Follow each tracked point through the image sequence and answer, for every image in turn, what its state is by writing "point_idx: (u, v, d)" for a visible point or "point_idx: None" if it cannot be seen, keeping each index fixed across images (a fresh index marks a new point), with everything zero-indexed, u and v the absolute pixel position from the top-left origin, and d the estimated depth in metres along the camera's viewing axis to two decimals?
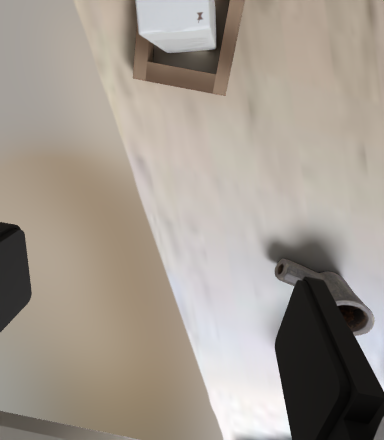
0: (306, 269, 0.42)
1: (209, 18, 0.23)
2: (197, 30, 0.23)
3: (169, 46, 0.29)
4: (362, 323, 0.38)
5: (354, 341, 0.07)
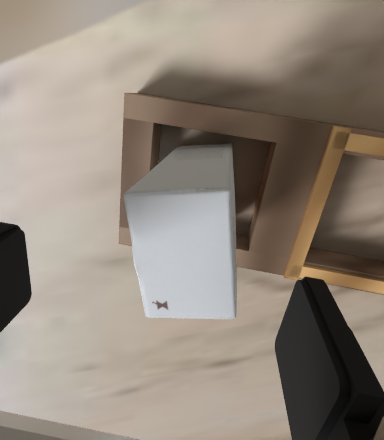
0: None
1: (160, 317, 0.13)
2: None
3: None
4: None
5: (354, 341, 0.07)
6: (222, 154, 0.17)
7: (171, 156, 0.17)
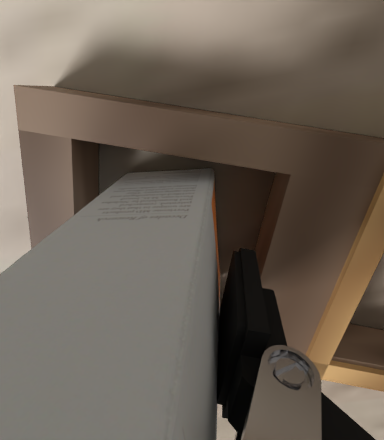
0: None
1: None
2: None
3: None
4: None
5: (262, 295, 0.08)
6: (190, 204, 0.09)
7: (95, 205, 0.09)
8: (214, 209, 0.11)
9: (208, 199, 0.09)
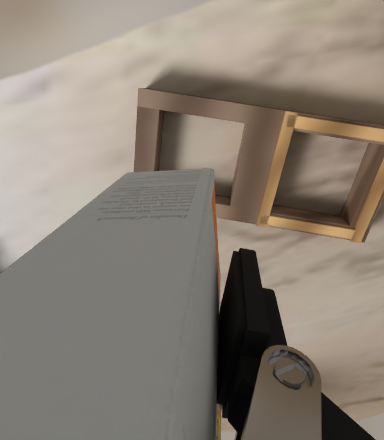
0: None
1: None
2: None
3: None
4: None
5: (262, 295, 0.08)
6: (190, 204, 0.09)
7: (95, 204, 0.09)
8: (214, 209, 0.11)
9: (208, 199, 0.09)
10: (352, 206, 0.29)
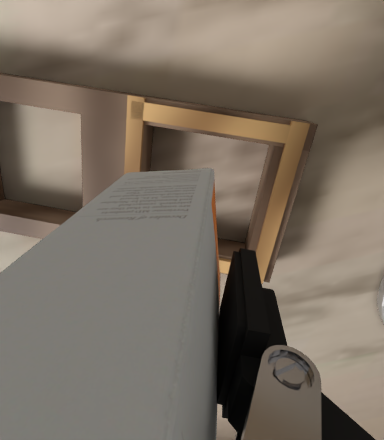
0: None
1: None
2: None
3: None
4: None
5: (262, 295, 0.08)
6: (190, 204, 0.08)
7: (94, 205, 0.09)
8: (214, 209, 0.11)
9: (208, 199, 0.09)
10: (251, 232, 0.20)
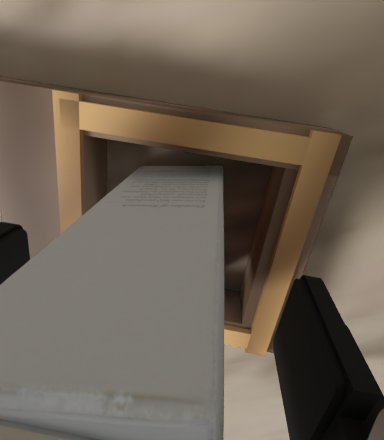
0: None
1: None
2: None
3: None
4: None
5: (351, 339, 0.07)
6: (205, 196, 0.09)
7: (117, 193, 0.10)
8: None
9: (221, 193, 0.10)
10: (248, 284, 0.14)
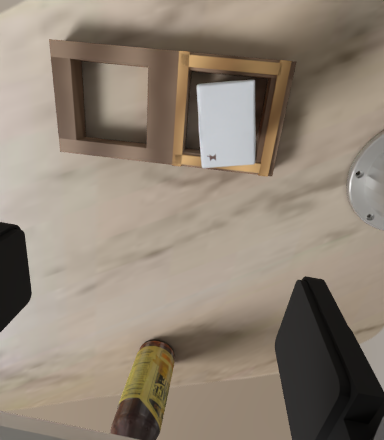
0: None
1: (210, 167, 0.22)
2: (201, 154, 0.22)
3: None
4: None
5: (354, 341, 0.07)
6: None
7: None
8: None
9: None
10: (258, 142, 0.31)
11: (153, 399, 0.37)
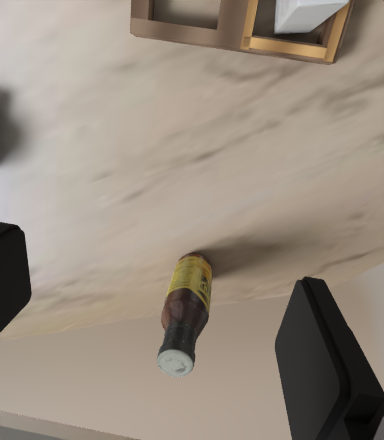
0: None
1: (305, 5, 0.23)
2: None
3: None
4: None
5: (354, 341, 0.07)
6: None
7: None
8: None
9: None
10: (325, 28, 0.32)
11: (201, 291, 0.39)
